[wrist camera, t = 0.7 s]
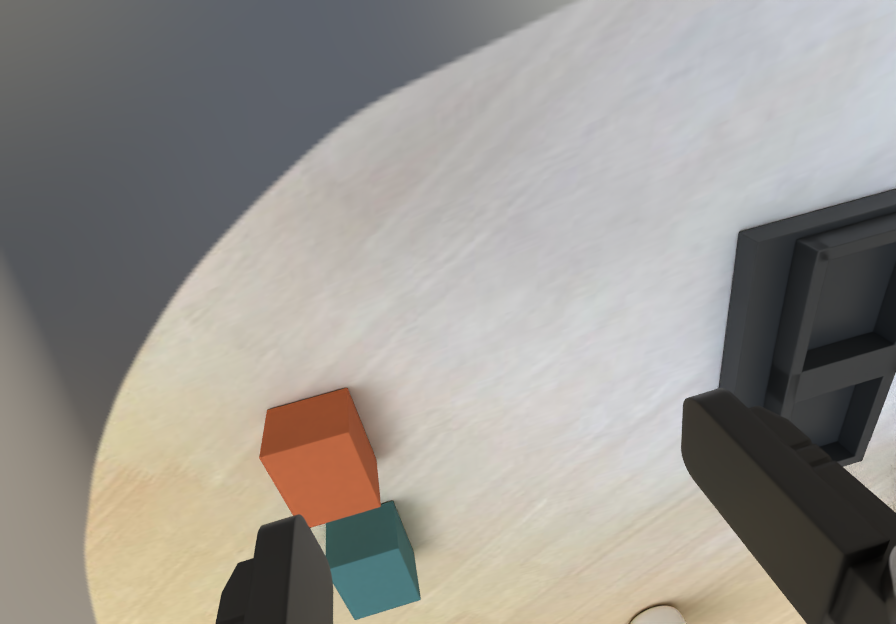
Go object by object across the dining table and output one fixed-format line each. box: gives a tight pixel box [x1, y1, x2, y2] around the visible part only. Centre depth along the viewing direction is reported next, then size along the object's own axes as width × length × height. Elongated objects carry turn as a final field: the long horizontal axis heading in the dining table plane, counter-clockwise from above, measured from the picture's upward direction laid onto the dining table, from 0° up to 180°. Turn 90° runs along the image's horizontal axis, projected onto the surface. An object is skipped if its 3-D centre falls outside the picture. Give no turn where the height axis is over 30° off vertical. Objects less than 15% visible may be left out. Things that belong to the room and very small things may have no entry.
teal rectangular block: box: [326, 501, 421, 620], centre depth 33 cm, size 6×4×4 cm
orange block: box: [259, 388, 381, 528], centre depth 28 cm, size 6×4×4 cm
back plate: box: [719, 189, 896, 467], centre depth 32 cm, size 20×12×3 cm, turn 11°
